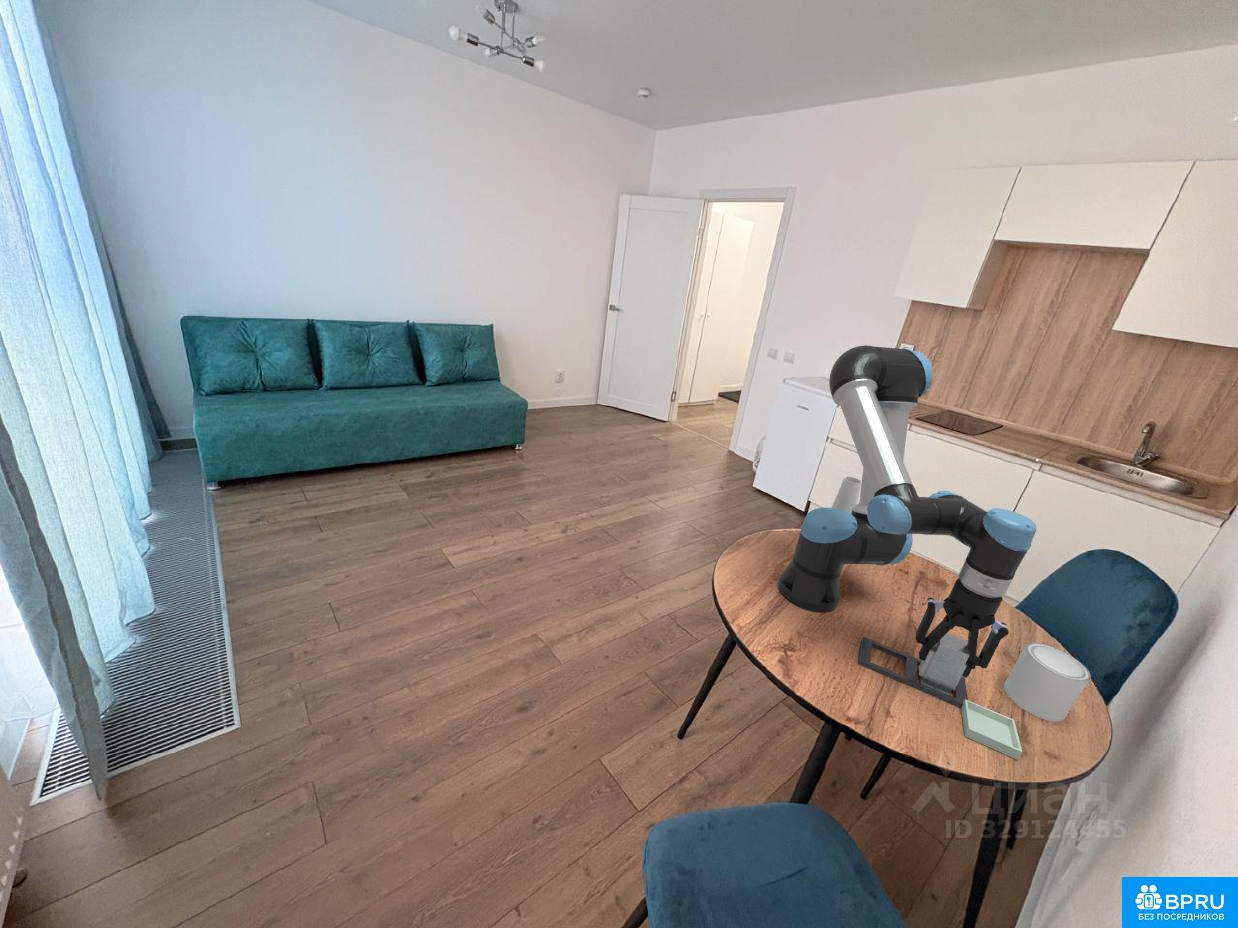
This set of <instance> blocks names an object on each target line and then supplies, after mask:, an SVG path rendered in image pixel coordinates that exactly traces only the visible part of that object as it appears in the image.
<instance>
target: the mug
mask: <svg viewBox="0 0 1238 928" xmlns="http://www.w3.org/2000/svg"><path fill="white" fill-rule="evenodd" d="M1091 679H1092V676H1091V672H1090V671H1089V669H1088V668H1087V667H1086V666H1085V665H1084V664H1083V663H1082V662H1080V661H1079V660H1078V659H1077V658H1075V657H1074V656H1072V655H1071V654H1069V653H1067V652H1065V651H1064V650H1061V649H1059V648H1057V647H1055V646H1052V645H1049V644H1044V643H1041V642H1034V641H1033V642H1028V643H1027V644H1026V645H1025V646H1024V647H1023V649H1022V651H1021V653H1020V654H1019V657H1018V658H1017V660H1016V662H1015V663H1014V666H1013V667H1012V669H1011V671H1010V672H1009V674H1008V676H1007V678H1006V680H1005V681H1004V683H1003V690H1004V692H1005V693H1006V695H1007V696H1008V698H1010V700H1011V701H1012V702H1013V703H1014V704H1016V705H1017V706H1018V707H1019V708H1021V709H1022V710H1024V711H1025V712H1027V713H1029V714H1030V715H1033V716H1035V717H1037V718H1039V719H1041V720H1045V721H1047V722H1055V723H1059V722H1064V720H1065V718H1066V717H1067V716H1068V715H1069V712H1070V711H1071V710H1072V708H1073V707H1074V705H1075V704H1076V702H1077V700H1078V699H1079V697H1080V695H1081V694H1082V692H1083V691H1084V689H1085V688H1086V686H1087V685H1088V683H1089V681H1090V680H1091Z"/></svg>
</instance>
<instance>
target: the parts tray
mask: <svg viewBox="0 0 1238 928" xmlns="http://www.w3.org/2000/svg"><path fill="white" fill-rule="evenodd" d="M968 706H969V708H968ZM960 710H961V715H962V725H963V731H964V737H966V738H967V739H970V740H972V741H974V742H976V743H979V744H981V745H983V746H985V747H988V748H990V749H992V750H995V751H996V752H999V753H1001V754H1003V755H1006V756H1008V757H1010V758H1012V759H1014V760H1017V761H1018V760H1019V759H1020V757H1021V756H1022V754H1023V748H1022V746H1021V742H1020V737H1019V734H1018V729H1017V726H1016V722H1015V719H1013V718H1011V717H1008V716H1006V715H1004V714H1001V713H999V712H996V711H995V710H991V709H989V708H988V707H985V706H983V705H979V704H977V703H975V702H973V701H970V700H969V699H968V700H966V699H965V700H964V702H963V706H962V708H960Z"/></svg>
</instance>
